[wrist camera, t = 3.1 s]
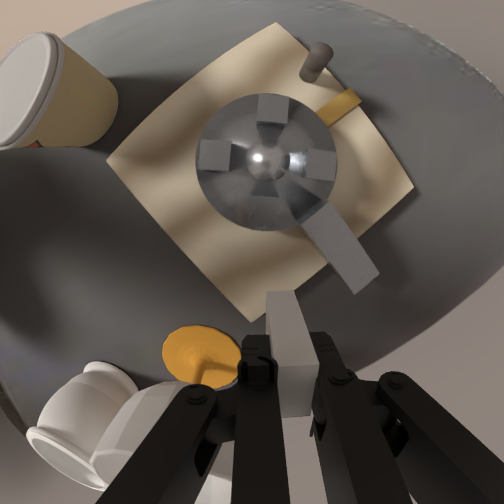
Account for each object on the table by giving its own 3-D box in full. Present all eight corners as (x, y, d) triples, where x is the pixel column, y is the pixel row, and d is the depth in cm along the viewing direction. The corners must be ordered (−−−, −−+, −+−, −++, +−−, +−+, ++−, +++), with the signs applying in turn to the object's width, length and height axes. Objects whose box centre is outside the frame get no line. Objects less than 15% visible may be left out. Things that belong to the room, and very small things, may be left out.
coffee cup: (45, 125, 21) (-31, 114, 9) (95, 58, 19) (30, 16, 8) (86, 172, 23) (0, 176, 11) (143, 98, 21) (76, 52, 9)
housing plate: (115, 161, 23) (75, 157, 16) (278, 30, 19) (286, -10, 13) (254, 316, 27) (255, 358, 20) (408, 187, 23) (452, 192, 17)
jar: (146, 367, 28) (100, 464, 14) (149, 418, 31) (120, 501, 16) (73, 343, 28) (11, 416, 13) (85, 396, 30) (44, 465, 16)
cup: (160, 390, 29) (121, 502, 13) (143, 309, 26) (60, 429, 10) (254, 397, 30) (257, 522, 13) (256, 314, 27) (263, 466, 10)
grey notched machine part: (177, 158, 21) (158, 152, 16) (271, 82, 19) (277, 57, 14) (301, 299, 24) (313, 327, 19) (385, 228, 22) (415, 240, 17)
